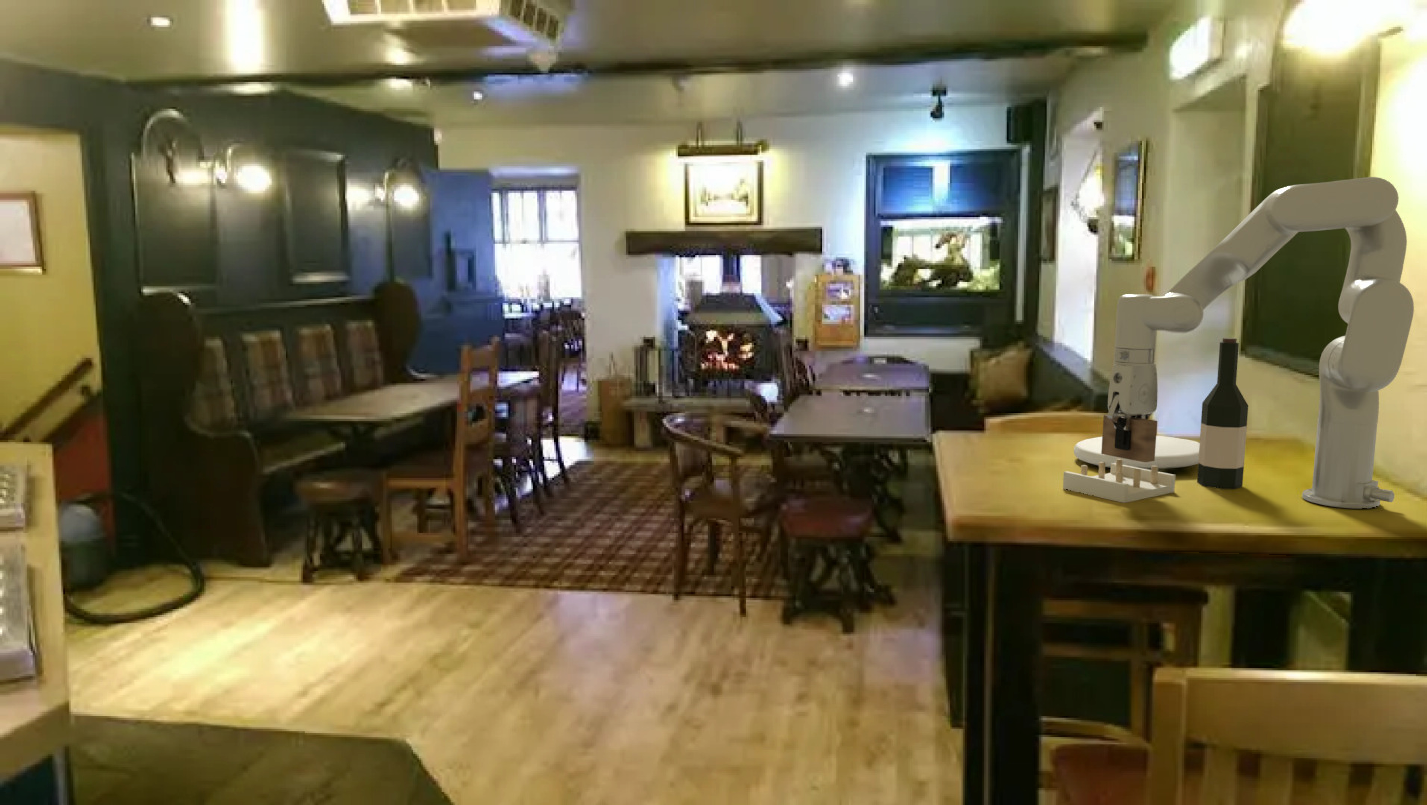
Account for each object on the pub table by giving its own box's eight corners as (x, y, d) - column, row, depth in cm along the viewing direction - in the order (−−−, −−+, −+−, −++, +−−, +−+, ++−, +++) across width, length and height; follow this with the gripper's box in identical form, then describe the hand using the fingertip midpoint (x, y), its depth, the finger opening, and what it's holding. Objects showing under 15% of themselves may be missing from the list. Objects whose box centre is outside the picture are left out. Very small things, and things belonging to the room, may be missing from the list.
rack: (1174, 492, 200) (1175, 467, 200) (1124, 502, 192) (1125, 477, 191) (1112, 479, 212) (1114, 455, 211) (1063, 488, 203) (1064, 464, 203)
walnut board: (1154, 460, 199) (1157, 420, 198) (1145, 462, 197) (1148, 422, 196) (1110, 452, 207) (1113, 413, 206) (1101, 453, 206) (1103, 415, 205)
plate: (1090, 454, 216) (1060, 433, 242) (1092, 483, 216) (1062, 460, 243) (1227, 442, 212) (1182, 422, 239) (1229, 472, 213) (1183, 449, 239)
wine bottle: (1217, 490, 202) (1228, 340, 198) (1187, 481, 210) (1197, 337, 205) (1251, 487, 204) (1263, 339, 200) (1221, 478, 212) (1231, 336, 208)
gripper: (1125, 360, 192) (1119, 455, 195) (1176, 356, 201) (1169, 447, 203) (1091, 357, 198) (1086, 449, 201) (1142, 353, 207) (1136, 441, 210)
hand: (1128, 447), depth 202 cm, fingers closed on walnut board, 3 cm apart
